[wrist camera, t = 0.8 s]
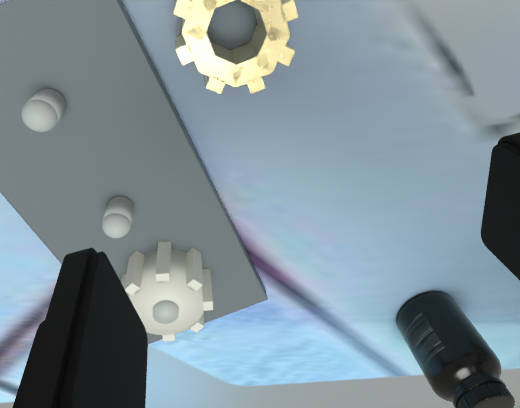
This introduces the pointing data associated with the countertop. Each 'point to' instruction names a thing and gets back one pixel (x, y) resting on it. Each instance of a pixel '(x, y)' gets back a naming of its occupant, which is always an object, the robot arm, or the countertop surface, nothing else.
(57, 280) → the robot arm
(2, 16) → the gear board
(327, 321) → the countertop surface
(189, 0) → the brass gear
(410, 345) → the supplement bottle
